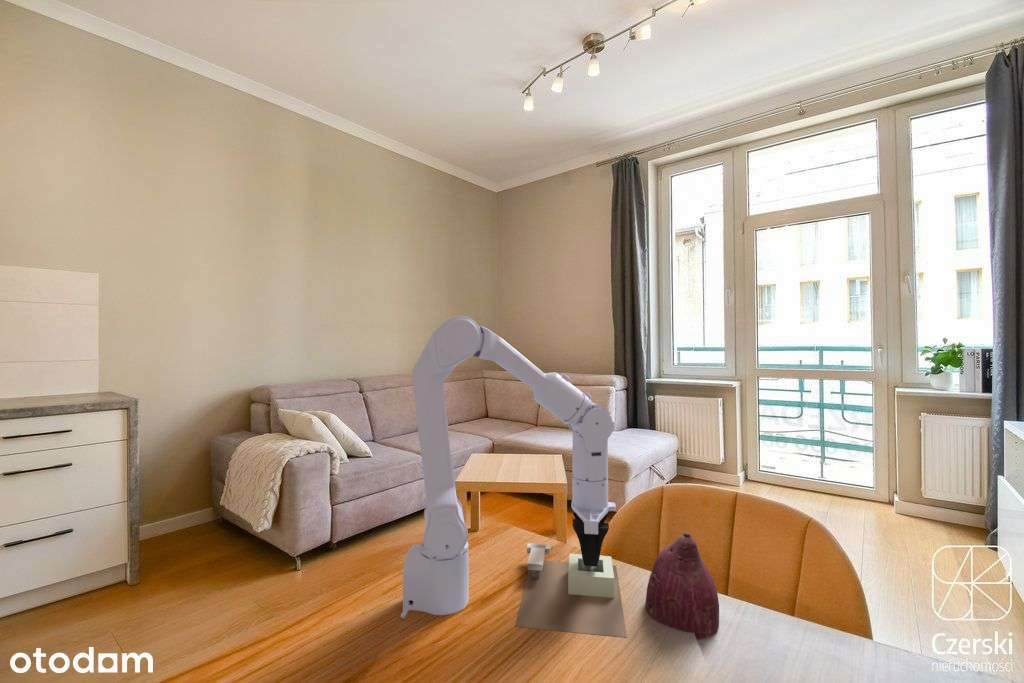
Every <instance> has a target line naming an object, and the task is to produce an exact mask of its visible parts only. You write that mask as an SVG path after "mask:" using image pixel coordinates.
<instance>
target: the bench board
mask: <svg viewBox="0 0 1024 683" xmlns="http://www.w3.org/2000/svg"><path fill="white" fill-rule="evenodd" d="M550 553H551V544H546V543H545V544H544V543H529V542H527V544H526V554H529V555H528V560H527V565H526V566H527V570H528V571H527V575H526V580H525V582H524V589H523V592H522V595H521V601H520V604H519V609H518V613H517V617H516V622H515V625H514V627H515V628H523V629H531V630H532V629H533V630H534V629H536V630H544V631H554V632H565V633H572V634H574V633H575V634H583V635H585V634H586V635H595V636H603V637H604V636H606V637H614V638H615V637H617V638H623V639H626V638H627V639H628V634H627V628H626V622H625V615H624V607H623V602H622V596H621V595H622V594H621V590H620V583H619V576H618V570H617V565H613V573H614V598H609V597H598V596H586V595H574V594H568V570H569V561H556V560H555V561H554V560H545V556H546V555H550Z"/></svg>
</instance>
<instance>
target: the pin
mask: <svg viewBox="0 0 1024 683" xmlns="http://www.w3.org/2000/svg"><path fill="white" fill-rule="evenodd" d="M583 571H591V572H599V562H598V566H597V567H596V566H585V565H584V563H583Z"/></svg>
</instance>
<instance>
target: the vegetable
mask: <svg viewBox="0 0 1024 683" xmlns="http://www.w3.org/2000/svg"><path fill="white" fill-rule="evenodd" d="M645 594H646V595H645V610H646V614H647V615H648V616H649V617H651V619H652V620H654V622H657V623H660V624H662V625H664V626H666V627H668V628H671V629H674V630H678V631H680V632H685V633H692V634H694V636H695V639H696V640H697V641H699V640H704V639H707V638H709V637H712V636H714V635H716V634H717V633H718V632H719V628H720V627H719V626H720V603H719V602H720V601H719V595H718V590H717V587H716V584H715V581H714V578H713V577H712V574H710V571H709V570H708V567H707V566H706V564H705V563H704V560H703V559H702V558H701V555H700V551H699V549H698V545H697V542H696V539H694V537H693V536H692V535H691V534H690V533H689V532H686V531H685V532H684V534H683V533H682V534H680V535H679V536H678V537H677V538H676V539H674V540H673V541H672V542H671V543H669V544H667V545H666V546H665V547H664V548H663V549H661V550H660V552H659V554H658V555H657V556H656V558H655V561H654V563H653V567H652V570H651V573H650V576H649V580H648V583H647V587H646V593H645Z"/></svg>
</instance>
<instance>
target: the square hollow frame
mask: <svg viewBox="0 0 1024 683" xmlns="http://www.w3.org/2000/svg"><path fill="white" fill-rule="evenodd" d="M568 554H569V556H568V562H569V570H568V594H574V595H586V596H598V597H609V598H614V573H613V566H614V565H613V560H612V556H609V555H600V558H599V572H591V571H583V558H582V553H568Z"/></svg>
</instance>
